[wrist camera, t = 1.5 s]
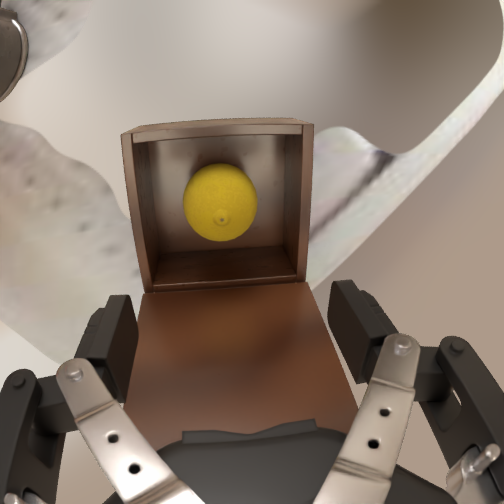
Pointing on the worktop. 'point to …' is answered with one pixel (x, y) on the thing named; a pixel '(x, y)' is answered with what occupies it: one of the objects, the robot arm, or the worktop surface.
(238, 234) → the lemon
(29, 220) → the worktop surface
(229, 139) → the chest
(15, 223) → the worktop surface
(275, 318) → the lid
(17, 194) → the worktop surface
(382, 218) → the worktop surface
